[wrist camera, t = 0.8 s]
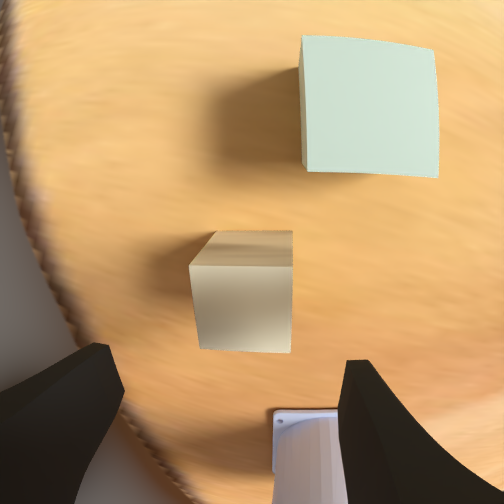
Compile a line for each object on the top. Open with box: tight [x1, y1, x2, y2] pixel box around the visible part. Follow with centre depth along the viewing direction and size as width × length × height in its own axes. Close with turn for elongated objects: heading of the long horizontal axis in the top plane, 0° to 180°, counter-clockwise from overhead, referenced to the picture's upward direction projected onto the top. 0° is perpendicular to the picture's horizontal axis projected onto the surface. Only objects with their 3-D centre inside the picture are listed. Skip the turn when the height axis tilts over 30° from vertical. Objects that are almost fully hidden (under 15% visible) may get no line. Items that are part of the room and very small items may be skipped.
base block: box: [298, 35, 439, 178], centre depth 12 cm, size 5×5×5 cm
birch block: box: [189, 231, 293, 353], centre depth 15 cm, size 4×4×5 cm
